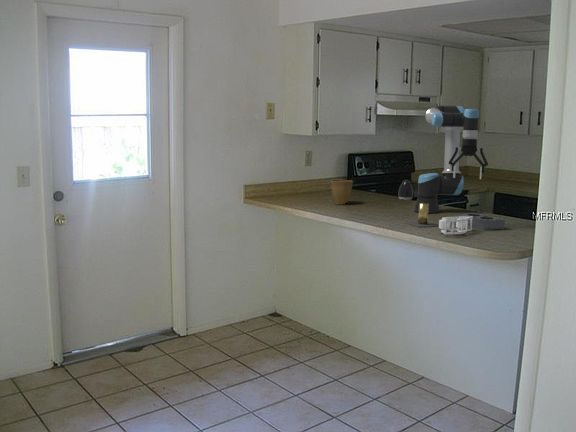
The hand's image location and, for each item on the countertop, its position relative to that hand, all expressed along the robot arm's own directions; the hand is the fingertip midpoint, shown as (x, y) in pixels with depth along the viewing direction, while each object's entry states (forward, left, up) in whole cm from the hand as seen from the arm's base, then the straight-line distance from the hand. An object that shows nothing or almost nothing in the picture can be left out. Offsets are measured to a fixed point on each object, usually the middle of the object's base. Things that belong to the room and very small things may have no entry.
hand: (467, 178), depth 322 cm
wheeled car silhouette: (+17, -17, -26) cm, 35 cm away
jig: (+5, +6, -25) cm, 26 cm away
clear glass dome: (-95, +20, -25) cm, 101 cm away
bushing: (-5, -23, -25) cm, 34 cm away
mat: (-5, -23, -25) cm, 34 cm away
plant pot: (-90, -32, -25) cm, 99 cm away
